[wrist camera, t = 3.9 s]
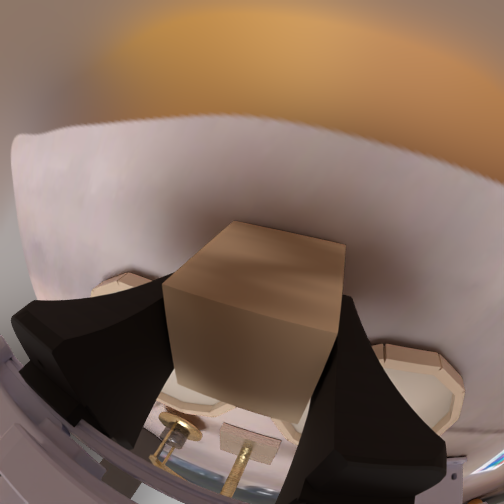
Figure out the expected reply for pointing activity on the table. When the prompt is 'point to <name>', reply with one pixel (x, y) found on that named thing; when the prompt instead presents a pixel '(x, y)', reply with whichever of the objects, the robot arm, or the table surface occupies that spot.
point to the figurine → (475, 501)
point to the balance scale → (230, 441)
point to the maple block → (256, 318)
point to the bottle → (121, 479)
